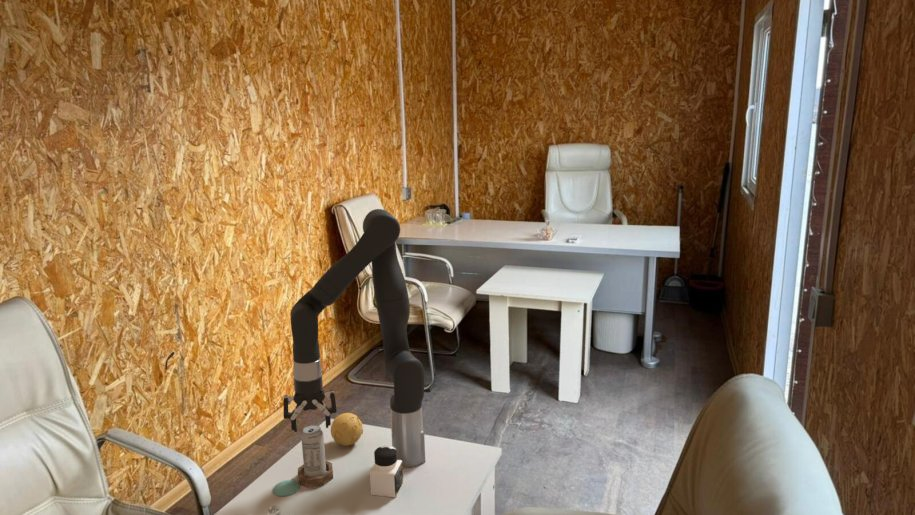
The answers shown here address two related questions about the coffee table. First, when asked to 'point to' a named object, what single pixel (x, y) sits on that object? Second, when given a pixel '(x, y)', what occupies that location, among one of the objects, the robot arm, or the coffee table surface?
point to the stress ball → (346, 429)
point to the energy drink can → (313, 451)
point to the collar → (315, 480)
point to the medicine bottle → (386, 472)
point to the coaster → (286, 488)
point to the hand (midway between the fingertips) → (311, 428)
